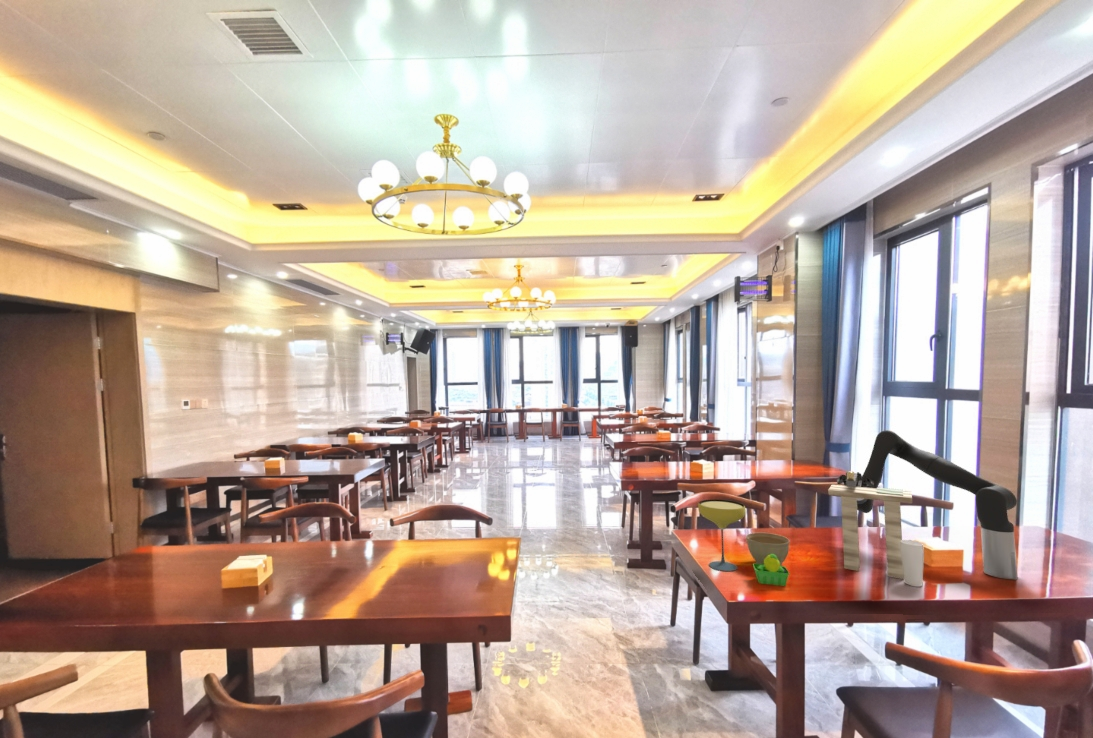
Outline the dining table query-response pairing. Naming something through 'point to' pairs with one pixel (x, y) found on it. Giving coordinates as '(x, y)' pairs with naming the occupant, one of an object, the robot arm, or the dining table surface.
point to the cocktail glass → (722, 522)
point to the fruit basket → (771, 571)
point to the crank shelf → (891, 523)
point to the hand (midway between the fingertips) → (853, 474)
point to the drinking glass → (912, 562)
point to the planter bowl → (767, 546)
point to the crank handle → (851, 479)
